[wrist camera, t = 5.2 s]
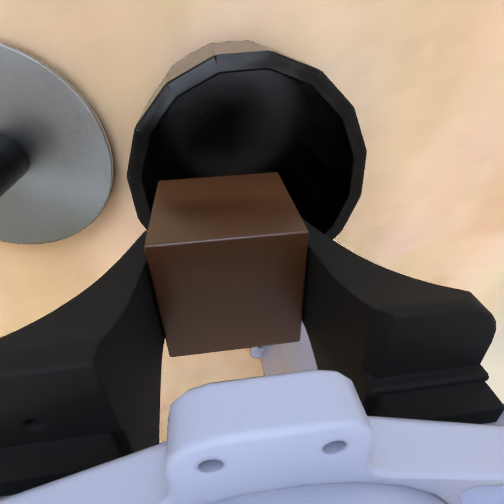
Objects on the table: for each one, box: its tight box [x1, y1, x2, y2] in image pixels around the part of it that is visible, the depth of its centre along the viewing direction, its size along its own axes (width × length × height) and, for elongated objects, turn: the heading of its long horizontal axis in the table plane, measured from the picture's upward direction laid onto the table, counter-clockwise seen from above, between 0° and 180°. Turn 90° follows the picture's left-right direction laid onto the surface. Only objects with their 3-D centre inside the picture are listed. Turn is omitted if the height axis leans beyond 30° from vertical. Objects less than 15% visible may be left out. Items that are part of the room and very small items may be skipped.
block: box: [144, 172, 309, 357], centre depth 12 cm, size 4×4×4 cm
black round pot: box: [127, 41, 367, 240], centre depth 18 cm, size 10×10×6 cm
